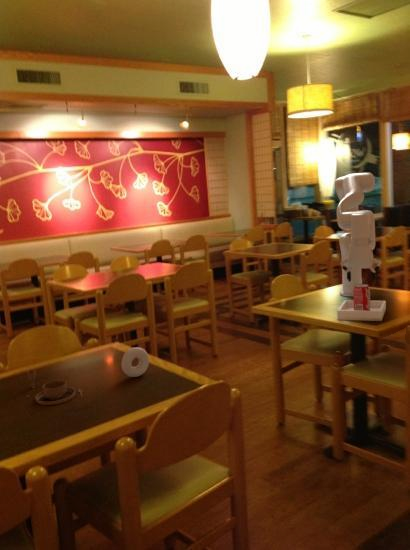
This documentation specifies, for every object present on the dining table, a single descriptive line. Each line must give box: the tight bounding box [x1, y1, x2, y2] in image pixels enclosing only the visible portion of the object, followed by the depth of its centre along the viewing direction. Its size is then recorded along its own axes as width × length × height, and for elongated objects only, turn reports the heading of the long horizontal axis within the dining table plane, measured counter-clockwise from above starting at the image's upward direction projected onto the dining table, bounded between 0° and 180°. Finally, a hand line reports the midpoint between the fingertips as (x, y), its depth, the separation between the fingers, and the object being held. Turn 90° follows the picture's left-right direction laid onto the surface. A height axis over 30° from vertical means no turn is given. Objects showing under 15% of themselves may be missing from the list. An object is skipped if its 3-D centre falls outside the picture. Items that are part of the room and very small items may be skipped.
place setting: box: [25, 370, 84, 406], centre depth 167 cm, size 18×20×6 cm
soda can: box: [352, 283, 371, 311], centre depth 232 cm, size 7×7×12 cm
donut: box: [121, 346, 150, 378], centre depth 176 cm, size 10×4×10 cm, turn 127°
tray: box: [336, 299, 387, 322], centre depth 233 cm, size 20×18×4 cm
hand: (361, 281), depth 231 cm, fingers open, 9 cm apart
